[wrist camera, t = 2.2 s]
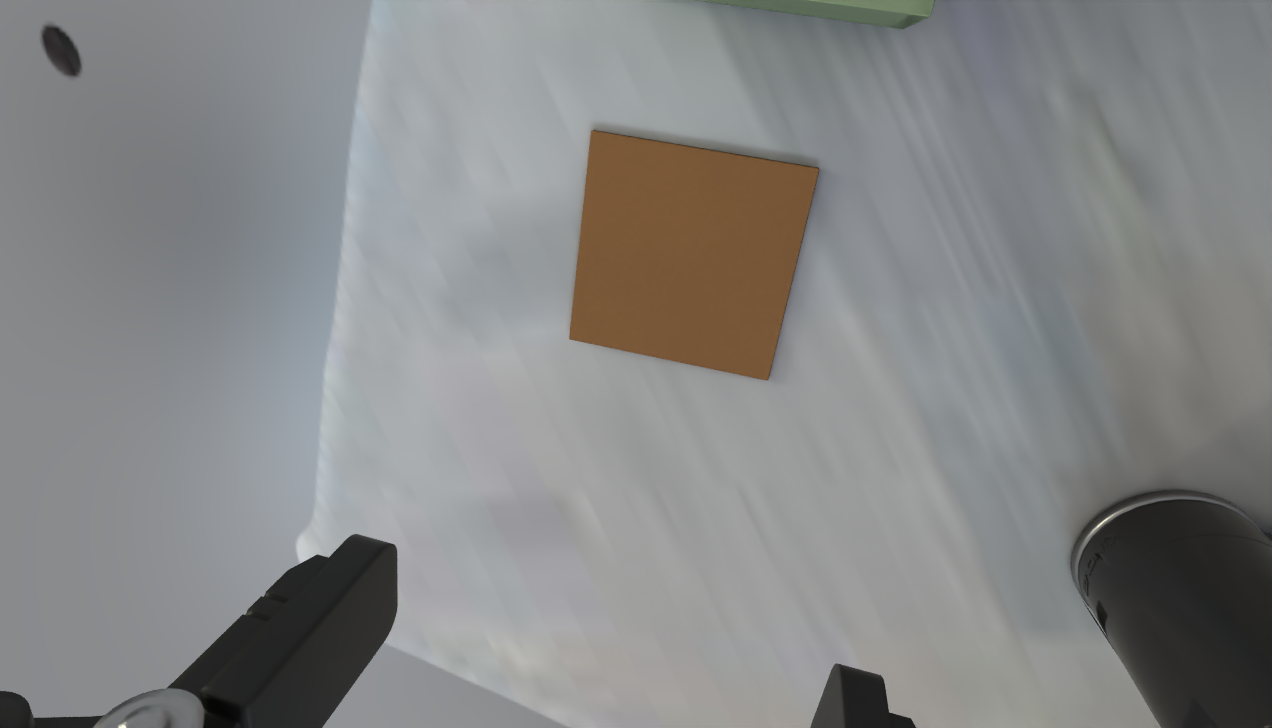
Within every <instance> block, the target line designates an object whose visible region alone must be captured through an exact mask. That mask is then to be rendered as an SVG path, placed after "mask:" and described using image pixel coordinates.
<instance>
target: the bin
mask: <svg viewBox="0 0 1272 728" xmlns="http://www.w3.org/2000/svg"><path fill="white" fill-rule="evenodd" d="M699 1H706V2H713V3H720V4H727V5H735V6H742V7H749V8H756V9H763V10H771V11H778V12H785V13H792V14H799V15H807V16H814V17H821V18H828V19H835V20H842V21H850V22H857V23H864V24H871V25H878V26H886V27H893V28H900V29H905V28H907V27H909V26H911V25H914V24H916V23H918V22H920V21H922V20H924V19H926V18H929V17H930V16H931V12H932V9H933V5H934V2H935V0H699Z"/></svg>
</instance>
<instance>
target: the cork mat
mask: <svg viewBox="0 0 1272 728" xmlns="http://www.w3.org/2000/svg"><path fill="white" fill-rule="evenodd" d="M818 173H819V168H817V167H811V166H805V165H799V164H793V163H787V162H781V161H775V160H769V159H763V158H757V157H751V156H745V155H739V154H733V153H727V152H721V151H715V150H709V149H703V148H697V147H691V146H685V145H679V144H673V143H667V142H661V141H655V140H649V139H643V138H637V137H631V136H625V135H619V134H613V133H607V132H601V131H595V130H593V131H591V139H590V149H589V158H588V168H587V177H586V186H585V196H584V205H583V214H582V224H581V233H580V242H579V252H578V261H577V271H576V280H575V289H574V299H573V308H572V317H571V327H570V336H569V339H571V340H576V341H581V342H586V343H591V344H595V345H600V346H605V347H610V348H614V349H619V350H624V351H629V352H634V353H638V354H643V355H648V356H653V357H658V358H662V359H667V360H672V361H677V362H681V363H686V364H691V365H696V366H701V367H705V368H710V369H715V370H720V371H725V372H729V373H734V374H739V375H744V376H748V377H753V378H758V379H763V380H768V378H769V374H770V370H771V366H772V362H773V358H774V354H775V350H776V346H777V341H778V337H779V333H780V329H781V325H782V321H783V317H784V313H785V309H786V304H787V300H788V296H789V292H790V288H791V284H792V280H793V276H794V272H795V268H796V263H797V259H798V255H799V251H800V247H801V243H802V239H803V235H804V231H805V226H806V222H807V218H808V214H809V210H810V206H811V202H812V198H813V194H814V190H815V185H816V181H817V177H818Z"/></svg>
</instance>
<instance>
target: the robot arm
mask: <svg viewBox="0 0 1272 728" xmlns="http://www.w3.org/2000/svg"><path fill="white" fill-rule="evenodd" d="M1071 572H1072V577H1073V581H1074V583H1075V586H1076V588H1077V589H1078V591H1079V593H1080V595H1081V596H1082V598H1083V600H1084V601H1085V602H1086V604H1087V605H1088V606H1089V607H1090V608H1091V609H1092V611H1093V613H1094V614H1095V616H1096V618H1097V620H1098V621H1099V623H1100V625H1101V626H1102V628H1103V630H1104V632H1105V633H1106V635H1105V634H1104V632H1103V631H1102V629H1101V628H1100V626H1099V625H1098V623H1097V621H1096V620H1095V618H1094V617H1093V615H1092V614H1091V612H1090V611H1089V612H1090V614H1091V615H1092V617H1093V618H1094V620H1095V622H1096V623H1097V625H1098V626H1099V628H1100V629H1101V631H1102V632H1103V634H1104V635H1105V637H1106V636H1107V637H1108V638H1107V637H1106V638H1107V640H1108V639H1109V640H1108V642H1109V643H1110V642H1111V643H1110V645H1111V644H1112V645H1111V646H1112V648H1113V647H1114V648H1113V649H1115V650H1114V651H1115V652H1116V654H1118V657H1119V658H1120V659H1121V662H1122V663H1123V664H1124V666H1125V668H1126V669H1127V671H1128V673H1129V675H1130V676H1131V678H1132V680H1133V681H1134V683H1135V685H1136V686H1137V688H1138V690H1139V691H1140V693H1141V695H1142V697H1143V698H1144V700H1145V702H1146V703H1147V705H1148V707H1149V708H1150V710H1151V712H1152V714H1153V715H1154V717H1155V719H1156V720H1157V722H1158V724H1159V725H1160V727H1161V728H1272V535H1271V534H1266V533H1263V532H1262V531H1261V529H1260V528H1259V527H1258V526H1257V524H1256V523H1255V522H1254V521H1252V520H1251V519H1250V518H1249V517H1248V516H1247V515H1246V514H1245V513H1244V512H1243V511H1241V510H1240V509H1239V508H1237V507H1236V506H1234V505H1233V504H1231V503H1229V502H1227V501H1225V500H1223V499H1220V498H1218V497H1215V496H1212V495H1208V494H1204V493H1199V492H1192V491H1162V492H1154V493H1149V494H1145V495H1141V496H1137V497H1134V498H1131V499H1129V500H1126V501H1124V502H1121V503H1119V504H1117V505H1115V506H1113V507H1111V508H1110V509H1108V510H1107V511H1105V512H1104V513H1102V514H1101V515H1100V516H1098V517H1097V518H1096V519H1095V520H1094V521H1092V522H1091V523H1090V524H1089V525H1088V527H1087V528H1086V529H1085V530H1084V531H1083V533H1082V534H1081V536H1080V537H1079V539H1078V541H1077V543H1076V545H1075V547H1074V550H1073V554H1072V559H1071ZM1084 601H1083V602H1084ZM1086 607H1087V606H1086ZM1087 609H1088V608H1087ZM1088 610H1089V609H1088ZM396 612H397V549H396V546H395V545H394V544H391V543H387V542H384V541H380V540H376V539H373V538H369V537H365V536H362V535H358V534H354V535H352V536H350V537H349V538H348V539H346V540H345V541H344V543H343V544H342V545H341V546H340V547H339V548H338V549H337V550H336V551H335V552H334V553H333V554H332V555H331V556H330V557H329V558H328V557H324V556H321V555H315V556H314V557H312V558H310V559H308V560H306V561H304V562H302V563H301V564H299V565H297V566H295V567H293V568H291V569H290V570H288V571H287V572H286V573H285V574H284V575H283V576H282V577H281V578H280V579H279V580H277V582H275V583H274V585H273V586H271V587H270V588H269V589H268V590H267V591H266V594H265V596H264V597H260V598H259V599H258V600H257V601H256V602H255V603H254V604H253V605H252V606H251V607H250V608H249V609H248V611H247V613H246V615H242V616H241V617H240V618H239V619H238V620H237V621H236V622H235V623H233V624H232V626H231V627H229V628H228V629H227V630H226V632H224V633H223V634H222V635H221V636H220V637H219V638H218V639H217V640H216V641H215V642H214V643H213V644H212V645H211V646H210V647H209V648H208V649H207V650H206V651H205V652H204V653H203V654H202V655H201V656H200V657H199V658H198V659H197V660H196V661H195V662H194V663H193V664H192V665H191V666H189V668H187V670H185V671H184V672H183V674H181V675H180V676H179V677H178V678H177V679H176V680H175V681H174V682H173V683H172V684H171V685H170V686H168V687H167V688H166V689H159V690H153V691H149V692H146V693H142V694H140V695H137V696H135V697H132V698H130V699H128V700H126V701H124V702H123V703H121V704H119V705H118V706H116V707H115V708H113V709H112V710H111V711H109V712H108V713H107V714H105V715H103V716H93V717H56V718H55V717H53V718H33V715H32V712H31V709H30V706H29V703H28V702H27V701H26V699H25V698H23V697H22V696H21V695H18V694H16V693H13V692H6V691H0V728H322V727H323V725H324V724H325V723H326V721H327V720H328V719H329V717H330V716H331V715H332V713H333V712H334V710H335V709H336V708H337V706H338V705H339V703H340V702H341V701H342V699H343V698H344V696H345V695H346V694H347V692H348V691H349V690H350V688H351V687H352V685H353V684H354V683H355V681H356V680H357V678H358V677H359V676H360V674H361V673H362V672H363V670H364V669H365V667H366V666H367V665H368V663H369V662H370V661H371V659H372V658H373V656H374V655H375V654H376V652H377V651H378V650H379V648H380V647H381V645H382V644H383V643H384V641H385V640H386V638H387V636H388V634H389V632H390V630H391V628H392V626H393V623H394V620H395V617H396ZM811 728H916V727H915V725H914V723H913V721H912V720H911V718H907V717H903V716H900V715H896V714H893V713H889V709H888V703H887V696H886V690H885V684H884V680H883V678H882V676H881V675H877V674H874V673H870V672H866V671H863V670H859V669H855V668H852V667H848V666H844V665H841V664H837V663H836V664H835V665H834V666H833V668H832V670H831V673H830V676H829V678H828V681H827V684H826V686H825V689H824V692H823V694H822V697H821V700H820V702H819V705H818V708H817V711H816V713H815V716H814V719H813V721H812V724H811Z"/></svg>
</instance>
